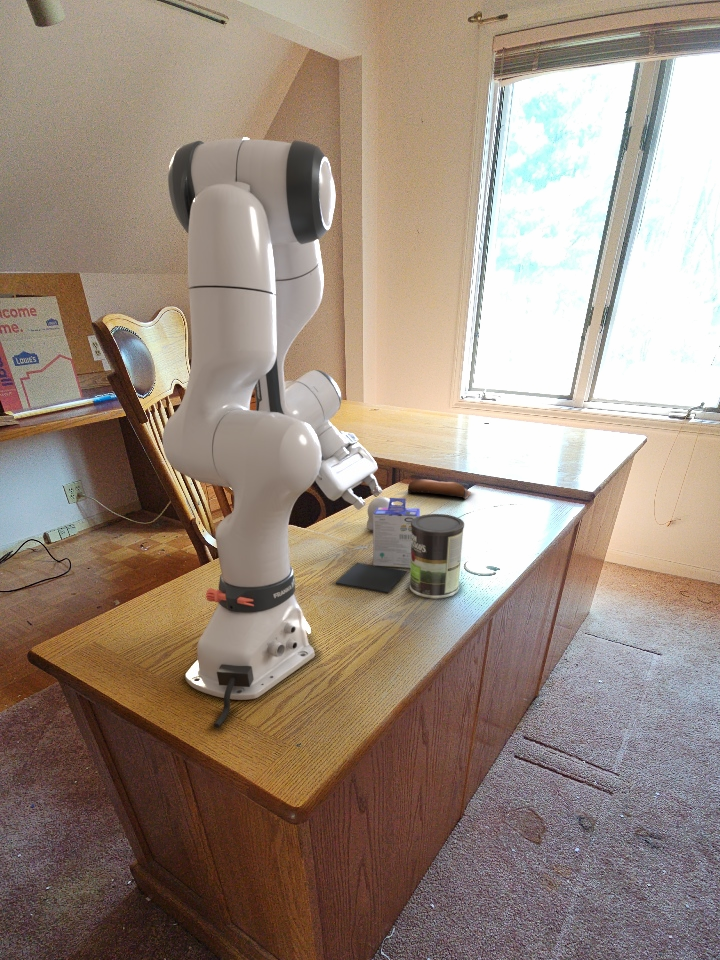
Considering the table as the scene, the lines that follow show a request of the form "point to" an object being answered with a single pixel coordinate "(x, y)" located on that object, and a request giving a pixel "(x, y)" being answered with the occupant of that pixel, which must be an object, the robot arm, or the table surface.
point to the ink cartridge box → (393, 534)
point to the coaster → (371, 577)
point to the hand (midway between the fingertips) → (371, 500)
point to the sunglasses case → (438, 488)
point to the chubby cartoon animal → (377, 502)
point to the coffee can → (435, 555)
